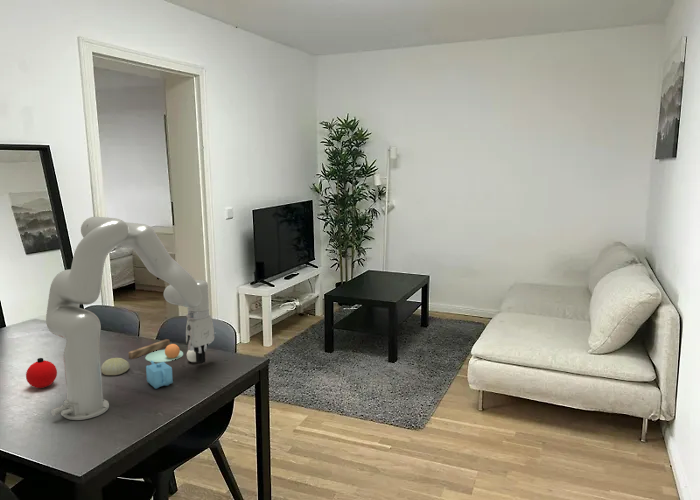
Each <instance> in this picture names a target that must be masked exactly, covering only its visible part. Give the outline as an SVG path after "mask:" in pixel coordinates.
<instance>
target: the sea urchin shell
mask: <svg viewBox="0 0 700 500" xmlns="http://www.w3.org/2000/svg"><path fill="white" fill-rule="evenodd" d="M100 367H101V374H103V375H104V376H118V375H122V374H124V373H126V372H127V371H128V370H129V369H130V362H128V361H127V360H126V359H124V358H123V357H111V358H108V359H106V360H104V362H103V363H102V364H101V365H100Z"/></svg>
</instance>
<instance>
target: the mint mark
mask: <svg viewBox="0 0 700 500" xmlns="http://www.w3.org/2000/svg"><path fill="white" fill-rule="evenodd" d="M183 356H184V352H183V351H182V350H180V353H179V355H178V356H177V357H176V358H168V357H167V356H166V355H165V348H163V349H159V350H157V351H154V352H151V353H148V354H145V358H144V359H145V361H147V362H150V363H151V361H154V363H161V362H165V363H167V362H172V360H173V361H176V360H178V359H180V358H182V357H183ZM175 359H176V360H175Z"/></svg>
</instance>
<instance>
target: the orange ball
mask: <svg viewBox="0 0 700 500" xmlns="http://www.w3.org/2000/svg"><path fill="white" fill-rule="evenodd" d="M164 349H165V355H166V356H167V357H168V358H176V357H177V356H178V355H179V353H180V351H181V350H180V347H179V346H178V345H177V344H176V343H170V345H168V346H167V347H165V348H164Z"/></svg>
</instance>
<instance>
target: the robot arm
mask: <svg viewBox="0 0 700 500" xmlns="http://www.w3.org/2000/svg"><path fill="white" fill-rule="evenodd" d="M80 226H81V227H80V233H81V236H82V238H81V240H80V241H79V243H78V244H77V246H76V248H75V249H74V253H73V258H72V262H71V267H70V269H65V270H64V269H63V270H62V271H59V273H57V274H56V275H55V276H54V278H53V279H52V282H51V284H50V287H49V294H48V300H47V307H46V316H45V323H46V327H47V330H48V331H49V332H50V333H51V334H53V335H55V336H57V337H60V338H64V339H65V346H64V351H63V365H64V374H65V375H64V376H65V388H66V398H67V399H65V400H63V404H61V405H60V406H59V407H55V408H53V409H51V410H50V413H51V415H52V417H56V416H58V415H60V414H61V416H63V418H64V419H67V420H69V421H70V420H71V421H82V420H83V421H84V420H89V419H92V418H96V417H98V416H101V415H103V414H104V413H106V412H107V411H108V409H109V408H110V402H109V400H106V399H104V396H103V395H104V394H103V382H102V372H101V357H100V340H101V339H100V336H101V331H102V330H101V329H102V328H101V321H100V319H99V317H98V316H97V315H96V313H94V312H92V311H90V310H88V309H85V308H81V307H80V305H83V306H85V305H92V304H94V303H95V302H96V301H97V300H98V299H99V297H100V294H101V289H102V282H103V274H104V267H105V263H106V259H107V256H108V255H109V253H110V252H111V251H112V250H114V249H115V248H125V249H126V248H127V249H131V250H133V251H134V252H135V254H136V255H137V256H138V258H139V259H140V260H141V261H142V263H143V265H144V267H145V268H146V269H147V271H148V272H149V273H150V274H152V276H154V277H156V278H158V279H160V280H162V281H164V282H166V283H168V284H169V285H167V286H166V287H165V288H164V291H163V298H164V300H165V301H166V302H167V303H169V304H171V305H175V306H179V307H183V308H187V314H186V315H185V316H186V318H187V319H186V325H185V343H186V346H187V351H188V350H190V351H194V352H196V362H195V363H198V364H199V363H200V364H203V363H205V362H206V351H207V349H208V346H209V345H211V344H212V342H214V340H215V328H214V323H213V317H212V315H210V301H209V300H210V299H209V296H210V295H209V283H208V282H207V280H203V279H195V278H194V277H193V276H192V274H190V272H189V271H187V270H186V269H185V268H184V267H183V266H182V265H181V264H180V263H178V262H177V260H175V259H174V258H173V257H172V256H171V255H170V253H169V251H168V250H167V249H166V247H165V245H164V244H163V242H162V241H161V239H160V238H159V236H158V235H157V233H156V231H155V230H154V229H153V227H151V225H147V224H144V223H137V222H127V221H124V220H123V219H120V218H116V217H108V216H107V217H106V216H104V217H103V216H90V217H88V218H86V219H85V220H83V222H82V224H81V225H80Z"/></svg>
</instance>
